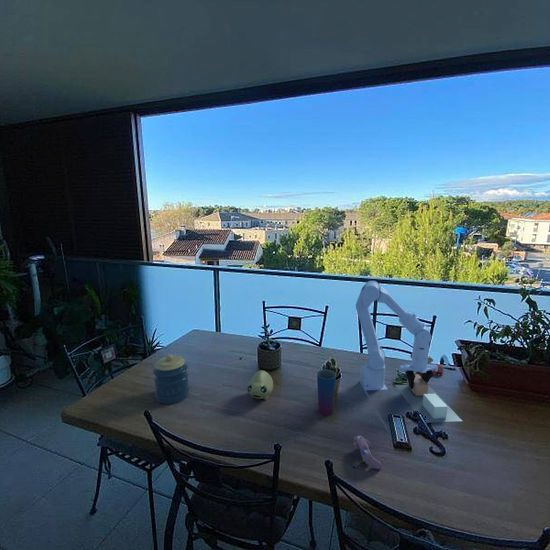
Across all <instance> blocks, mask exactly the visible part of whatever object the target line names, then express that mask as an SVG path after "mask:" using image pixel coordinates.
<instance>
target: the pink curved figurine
mask: <svg viewBox="0 0 550 550" xmlns="http://www.w3.org/2000/svg"><path fill="white" fill-rule="evenodd" d="M353 439H354V440H353V445H354V446H355V447H356V446H357V448H358V449H359V452H360V455H361V458H362V461H363V462H365V464H366V465H368V466H369V467H370V468H373V469H375V470H380V469H382V463H381V461H380V460H378V459H376V458H375V457H374V456H373V454H372V453H371V450H370V448H371V446H372V444H371V442H370V441H369V440H368V439H366V438H364V436H362V435H356V436H354V437H353Z"/></svg>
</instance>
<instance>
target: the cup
mask: <svg viewBox="0 0 550 550" xmlns="http://www.w3.org/2000/svg"><path fill="white" fill-rule="evenodd" d="M316 378H317V379H316V381H317V405H318V413H319V414H320V415H322V416H325V417H329V416H332V414H333V412H334V411H333V410H334V401H335V391H336V390H335V389H336V383H337V373H336V372H335V371H333V370H331V369H320V370H318V371H317V373H316Z"/></svg>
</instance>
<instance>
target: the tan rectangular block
mask: <svg viewBox="0 0 550 550" xmlns="http://www.w3.org/2000/svg"><path fill="white" fill-rule="evenodd" d="M414 375H415V376H416V377H415V379H414V385H413V389H411V388H410V387H409V383H408V378H407V377H406V378H407V379H406V380H407V381H406V385H408V387H409V388H410V389H411V390H412V391H413V393H414V394H415V395H416V396H423V394H428V385H429V384H428V383H426V382H425V381H424V380H423V379H422V376H421V375H420V374H419V373H418V374H417V373H416V374H414Z"/></svg>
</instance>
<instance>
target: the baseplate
mask: <svg viewBox="0 0 550 550" xmlns="http://www.w3.org/2000/svg"><path fill="white" fill-rule="evenodd" d="M394 386H395V388H396V390H397V391H398V392H399V393H400V394H401V395H402V397H403V399H404V400H405V401H406V403H408V405H409V406H410V407H411V409H412V410H413V411H414V412H415V411H418V412H419V413H421V414H422V415H423V416H426V418H425V419H426V420H425V421H426V424H427V423H430V424H431V423H451V422H453V423H455V422H463V420H462V419H461V417H460V416H458V414H456V412H455V411H454V410H453V409H452V408H451V407H450V406H449V405H448V404H447V403H446V401H444V399H442V398H441V396H440V395H439V394H438V393H437V392H436V391H435V390H434V389H433V388H432V387H431V386H430V385H429V384H428V394H436V395H437V396H438V397H439V398H440V399H441V400H442V401H443V402H444V403H445V404H446V405H447V415H446V418H433V417H432V416H431V415H430V413H429V412H428V411H427V410H426V409H425V407H424V406H423V405H422V404H423V396H416V395H415V394H414V393H413V391H412V390H411V389H410V388H409V387H408V385H407V384H395V385H394Z"/></svg>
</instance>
